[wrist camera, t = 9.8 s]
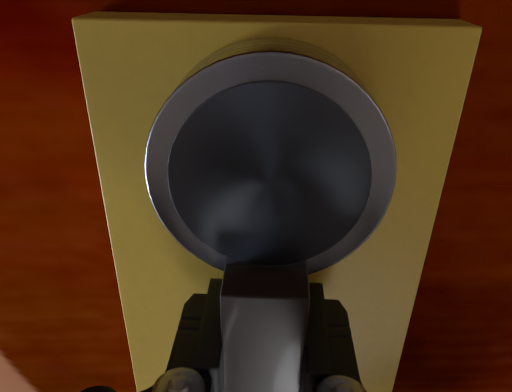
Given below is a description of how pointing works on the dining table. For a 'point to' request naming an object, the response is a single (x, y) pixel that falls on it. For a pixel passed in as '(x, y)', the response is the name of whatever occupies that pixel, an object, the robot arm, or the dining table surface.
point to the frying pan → (269, 189)
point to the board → (333, 278)
